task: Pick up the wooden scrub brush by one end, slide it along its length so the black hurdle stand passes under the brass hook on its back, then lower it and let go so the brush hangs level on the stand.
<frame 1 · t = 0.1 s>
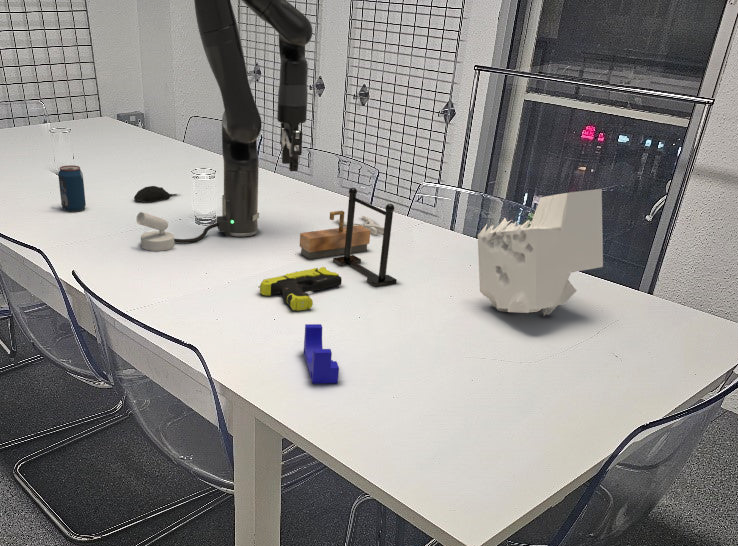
hand: (289, 167, 199), 17 cm above the table, tool pointing down, fingers open, 8 cm apart
blue stepped block: (319, 368, 137), on the table
scrub brush: (334, 252, 193), on the table
black hurdle stand: (363, 272, 181), on the table
soda can: (74, 209, 221), on the table
jagged cream rock lump: (524, 310, 163), on the table
pliers: (364, 228, 212), on the table
wall hook: (155, 246, 194), on the table
stun gun: (308, 295, 167), on the table
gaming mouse: (156, 199, 233), on the table
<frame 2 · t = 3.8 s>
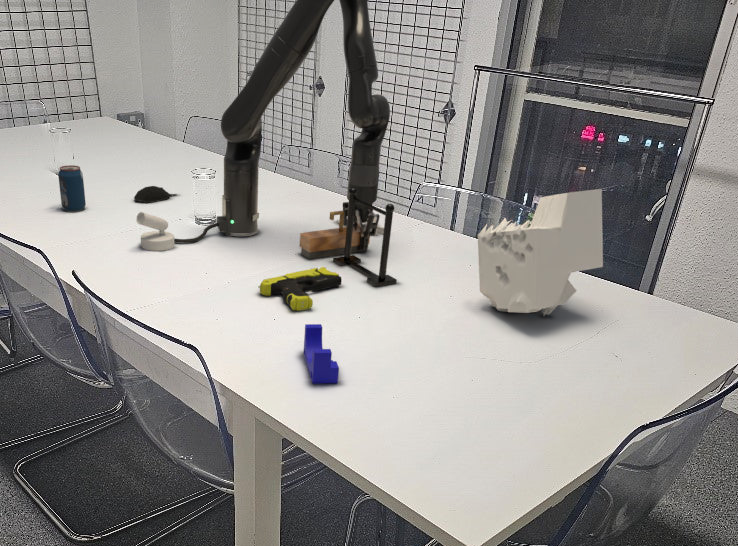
hand: (357, 247, 195), 1 cm above the table, tool pointing down, fingers closed on scrub brush, 5 cm apart
scrub brush: (334, 252, 193), on the table, touching gripper
everything else where it was.
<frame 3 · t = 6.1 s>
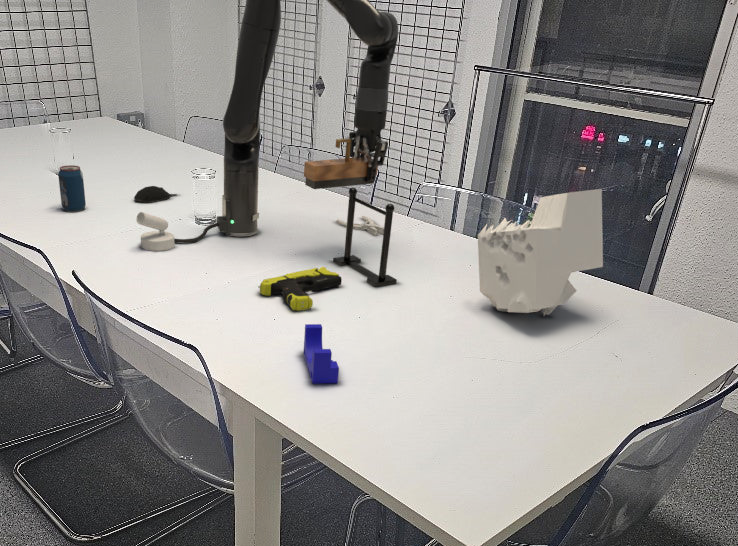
hand: (364, 179, 186), 18 cm above the table, tool pointing down, fingers closed on scrub brush, 5 cm apart
scrub brush: (339, 184, 184), point 17 cm above the table, touching gripper
everything else where it was.
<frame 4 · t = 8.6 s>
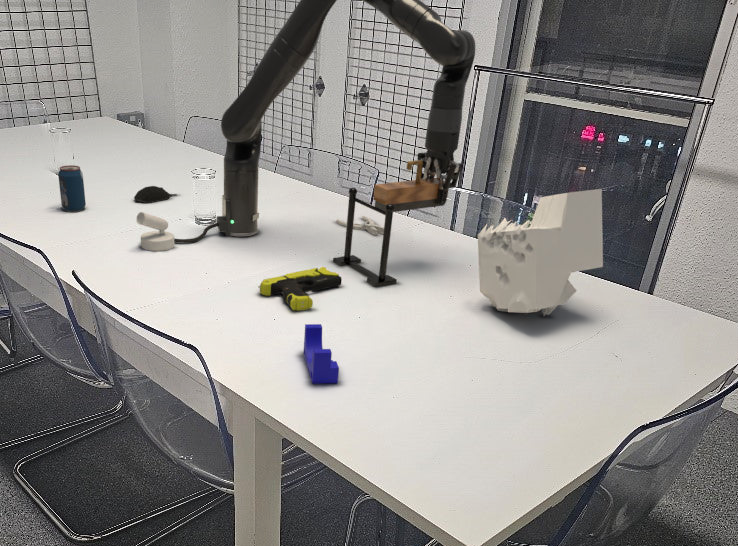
hand: (433, 201, 180), 15 cm above the table, tool pointing down, fingers closed on scrub brush, 5 cm apart
scrub brush: (409, 206, 178), point 15 cm above the table, touching gripper
everything else where it was.
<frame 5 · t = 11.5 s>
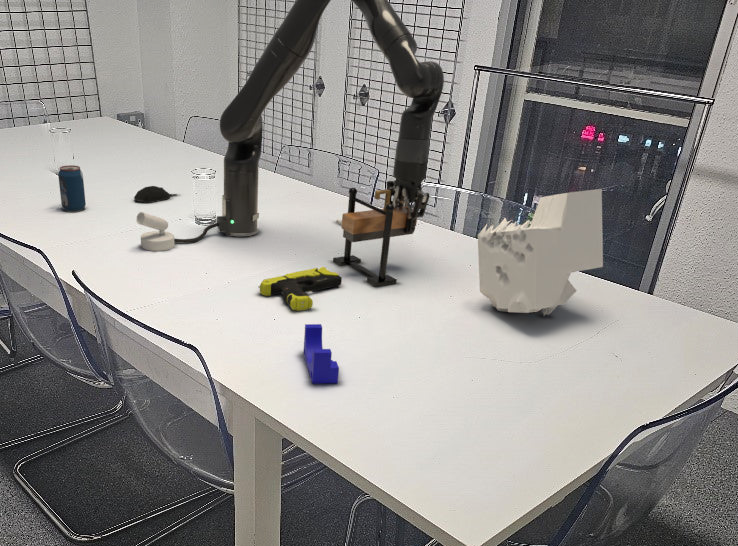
hand: (402, 229, 180), 9 cm above the table, tool pointing down, fingers closed on scrub brush, 5 cm apart
scrub brush: (378, 235, 178), point 9 cm above the table, touching gripper
everything else where it was.
when the fingers open (7 cm above the table, at t = 13.6 s): scrub brush stays where it is, resting on black hurdle stand.
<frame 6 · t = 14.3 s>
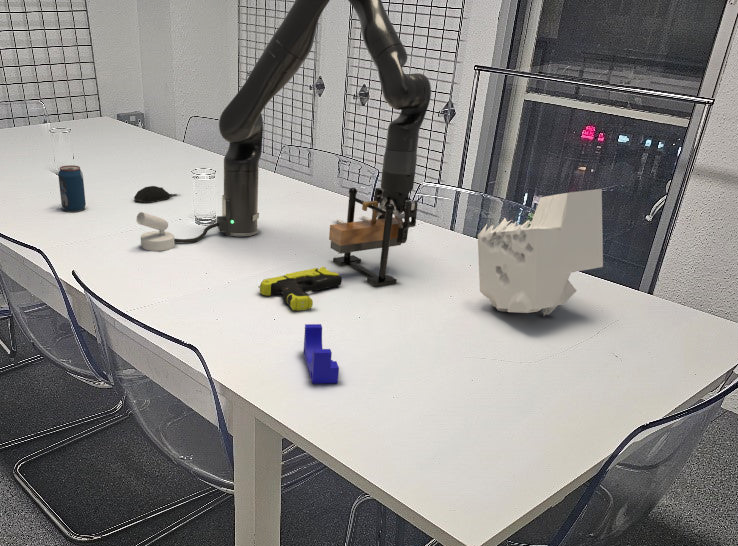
hand: (390, 237, 179), 8 cm above the table, tool pointing down, fingers open, 8 cm apart
scrub brush: (365, 246, 177), point 6 cm above the table, touching black hurdle stand
everything else where it was.
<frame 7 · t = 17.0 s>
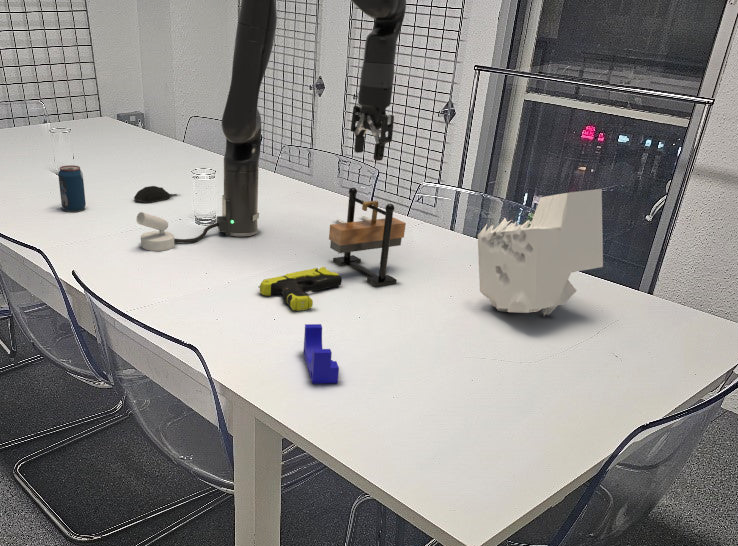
hand: (368, 156, 180), 24 cm above the table, tool pointing down, fingers open, 8 cm apart
nothing on the table moved.
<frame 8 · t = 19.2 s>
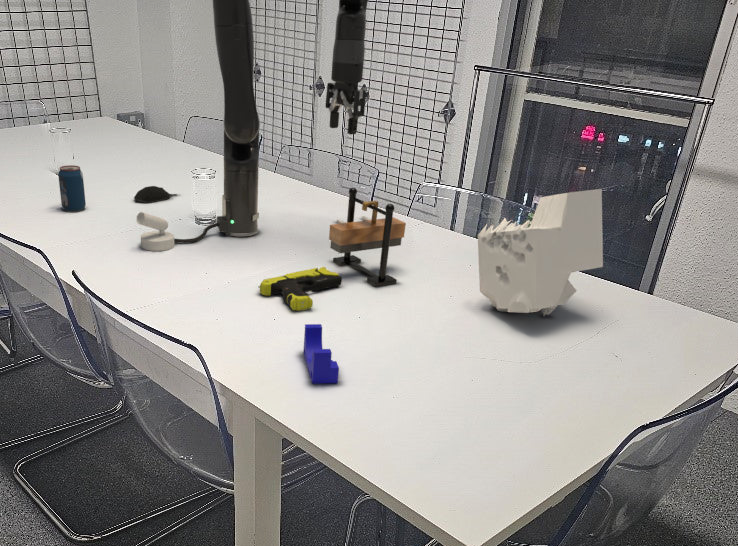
hand: (342, 130, 187), 28 cm above the table, tool pointing down, fingers open, 8 cm apart
nothing on the table moved.
at the end: scrub brush 0.0 cm off-centre on the black hurdle stand, point 6.4 cm above the black hurdle stand's base; scrub brush touching black hurdle stand; the gripper is holding nothing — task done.
